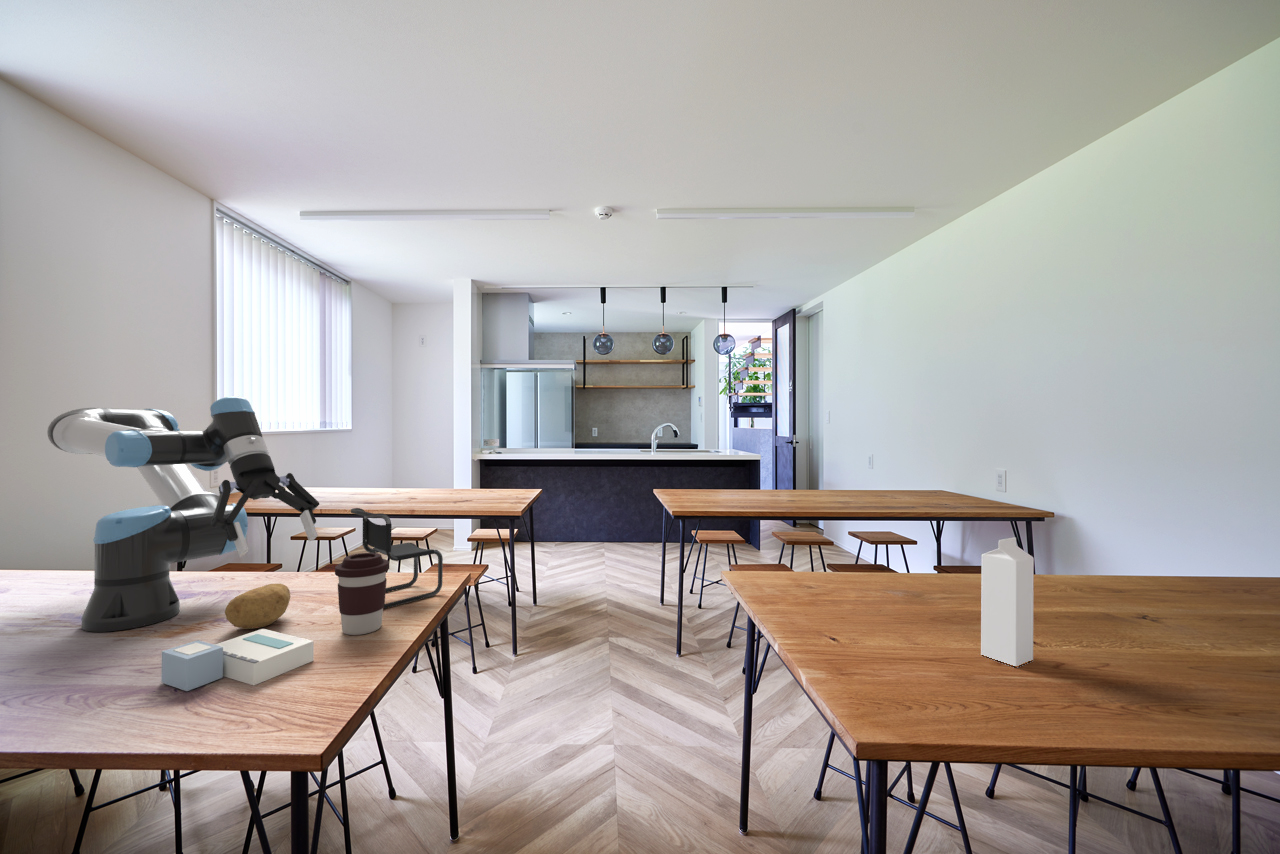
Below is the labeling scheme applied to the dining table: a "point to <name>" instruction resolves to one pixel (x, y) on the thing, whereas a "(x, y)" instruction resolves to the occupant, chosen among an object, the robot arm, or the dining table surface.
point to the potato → (258, 606)
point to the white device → (264, 655)
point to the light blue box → (192, 665)
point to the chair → (395, 552)
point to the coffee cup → (361, 592)
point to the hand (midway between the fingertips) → (280, 545)
